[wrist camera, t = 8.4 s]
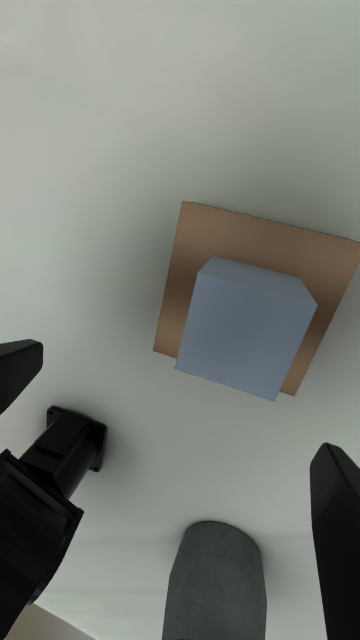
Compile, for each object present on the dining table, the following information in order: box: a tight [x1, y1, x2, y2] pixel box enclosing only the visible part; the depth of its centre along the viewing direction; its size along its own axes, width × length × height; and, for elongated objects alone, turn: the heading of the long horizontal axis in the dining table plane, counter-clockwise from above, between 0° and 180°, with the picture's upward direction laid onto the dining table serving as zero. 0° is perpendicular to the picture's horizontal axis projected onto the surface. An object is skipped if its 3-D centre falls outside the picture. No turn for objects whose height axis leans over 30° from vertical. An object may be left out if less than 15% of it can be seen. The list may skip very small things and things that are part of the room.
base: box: [153, 201, 360, 396], centre depth 18 cm, size 10×10×3 cm
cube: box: [175, 255, 318, 402], centre depth 15 cm, size 5×5×5 cm
